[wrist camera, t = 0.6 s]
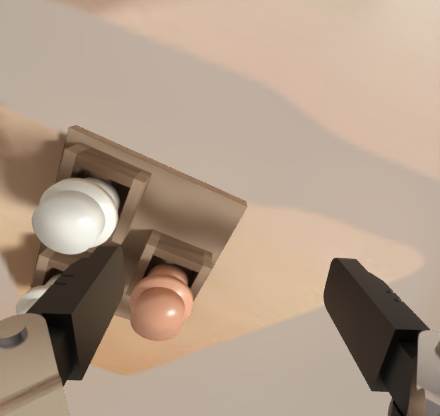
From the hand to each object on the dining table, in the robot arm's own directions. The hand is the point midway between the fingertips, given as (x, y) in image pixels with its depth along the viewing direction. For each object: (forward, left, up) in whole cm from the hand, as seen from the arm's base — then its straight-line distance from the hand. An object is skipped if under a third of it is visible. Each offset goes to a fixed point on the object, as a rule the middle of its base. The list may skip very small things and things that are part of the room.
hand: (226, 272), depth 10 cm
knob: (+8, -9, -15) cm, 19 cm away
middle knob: (+14, 0, -15) cm, 21 cm away
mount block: (+14, -5, -19) cm, 24 cm away
